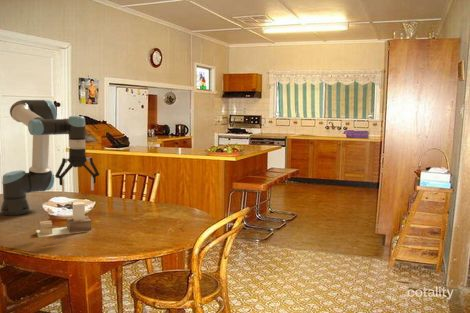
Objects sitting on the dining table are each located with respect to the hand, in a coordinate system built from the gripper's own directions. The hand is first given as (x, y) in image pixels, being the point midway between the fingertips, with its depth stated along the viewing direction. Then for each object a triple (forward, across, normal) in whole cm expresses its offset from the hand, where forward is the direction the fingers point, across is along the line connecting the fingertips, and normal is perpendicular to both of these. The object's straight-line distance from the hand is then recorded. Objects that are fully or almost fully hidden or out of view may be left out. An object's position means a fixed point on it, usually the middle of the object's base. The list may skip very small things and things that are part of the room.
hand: (77, 190), depth 212 cm
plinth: (+19, 0, -1) cm, 19 cm away
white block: (+14, 0, 0) cm, 14 cm away
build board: (+20, -7, -1) cm, 21 cm away
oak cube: (+19, -15, -1) cm, 24 cm away
